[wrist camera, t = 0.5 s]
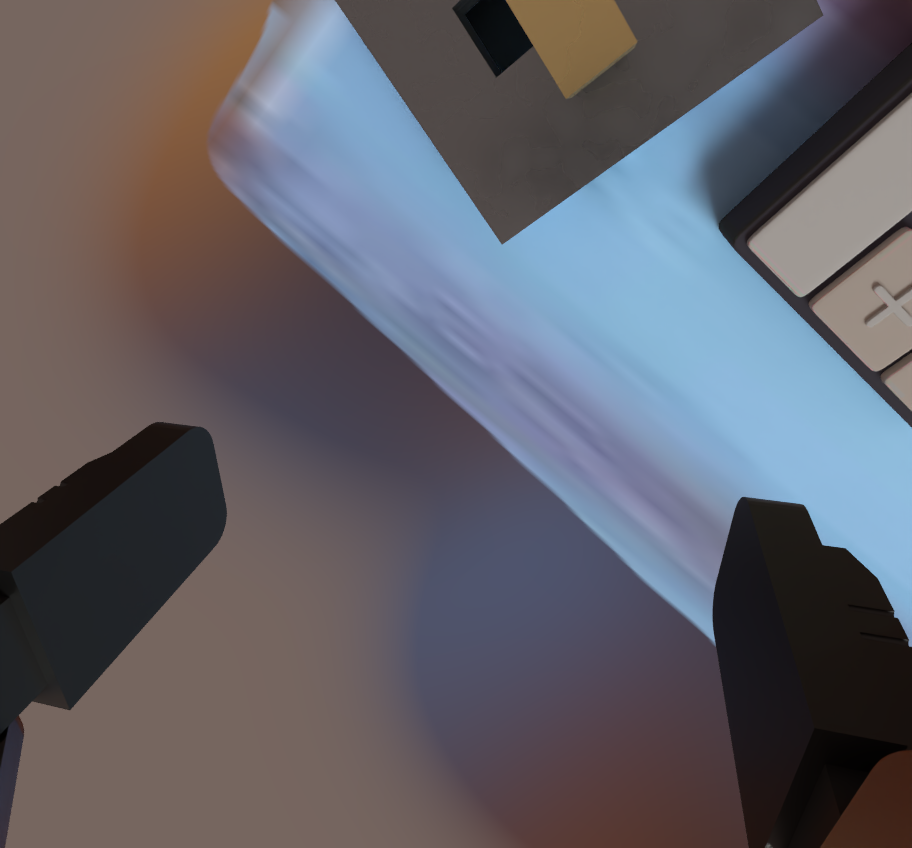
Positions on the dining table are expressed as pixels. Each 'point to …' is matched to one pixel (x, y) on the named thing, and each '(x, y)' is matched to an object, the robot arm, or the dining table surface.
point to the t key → (575, 38)
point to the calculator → (845, 232)
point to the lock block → (543, 104)
